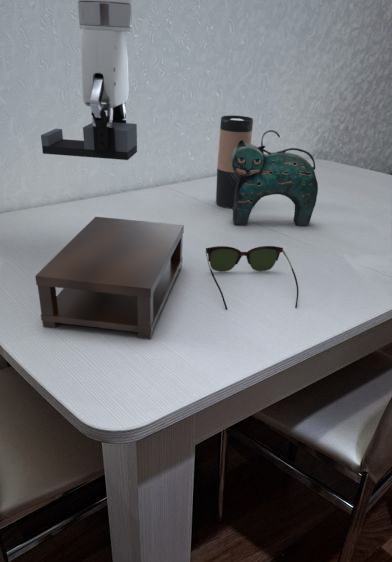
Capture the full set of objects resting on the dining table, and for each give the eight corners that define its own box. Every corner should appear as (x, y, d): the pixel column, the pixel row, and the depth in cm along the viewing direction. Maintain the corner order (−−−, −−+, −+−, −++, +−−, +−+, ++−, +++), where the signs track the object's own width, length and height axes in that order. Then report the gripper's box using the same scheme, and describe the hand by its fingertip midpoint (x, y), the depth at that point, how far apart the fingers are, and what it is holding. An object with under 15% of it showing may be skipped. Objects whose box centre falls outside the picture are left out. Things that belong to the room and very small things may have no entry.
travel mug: (246, 201, 130) (254, 116, 119) (243, 210, 123) (252, 121, 113) (217, 198, 131) (222, 114, 120) (212, 206, 124) (218, 119, 114)
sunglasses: (279, 270, 93) (283, 245, 90) (303, 314, 82) (309, 287, 79) (202, 271, 91) (204, 246, 88) (216, 316, 80) (219, 289, 77)
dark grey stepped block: (42, 153, 81) (39, 124, 78) (57, 146, 86) (54, 118, 84) (127, 160, 79) (126, 130, 77) (137, 151, 85) (136, 123, 83)
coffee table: (41, 326, 72) (35, 275, 68) (98, 258, 94) (95, 216, 90) (150, 340, 71) (150, 288, 66) (182, 267, 92) (183, 225, 88)
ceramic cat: (227, 226, 112) (235, 130, 102) (223, 217, 118) (231, 125, 107) (314, 228, 114) (331, 134, 103) (306, 219, 120) (321, 128, 109)
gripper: (97, 18, 80) (104, 138, 90) (58, 16, 66) (71, 159, 75) (144, 21, 79) (145, 141, 89) (114, 18, 65) (120, 163, 75)
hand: (111, 148), depth 82 cm, fingers closed on dark grey stepped block, 6 cm apart
